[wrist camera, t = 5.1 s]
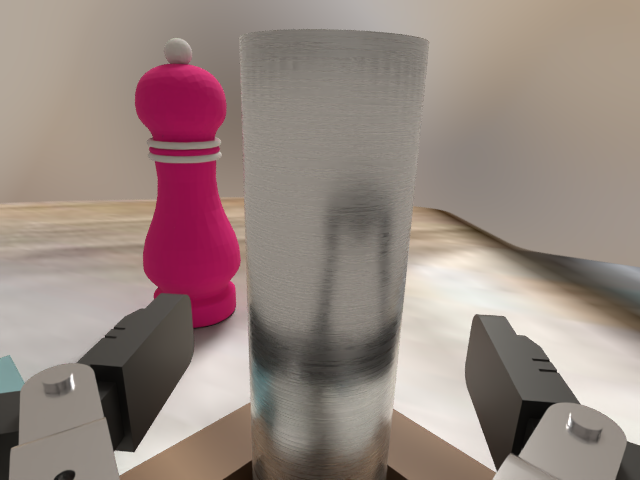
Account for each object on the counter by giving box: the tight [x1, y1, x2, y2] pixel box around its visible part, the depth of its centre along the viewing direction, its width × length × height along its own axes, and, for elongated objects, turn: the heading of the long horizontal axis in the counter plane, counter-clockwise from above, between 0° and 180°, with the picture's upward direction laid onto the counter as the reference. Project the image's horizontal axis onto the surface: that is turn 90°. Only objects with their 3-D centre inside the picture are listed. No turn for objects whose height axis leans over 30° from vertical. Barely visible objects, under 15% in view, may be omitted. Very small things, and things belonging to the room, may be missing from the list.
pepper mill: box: [135, 38, 241, 328], centre depth 32 cm, size 7×7×20 cm
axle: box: [240, 29, 429, 480], centre depth 12 cm, size 4×4×18 cm
